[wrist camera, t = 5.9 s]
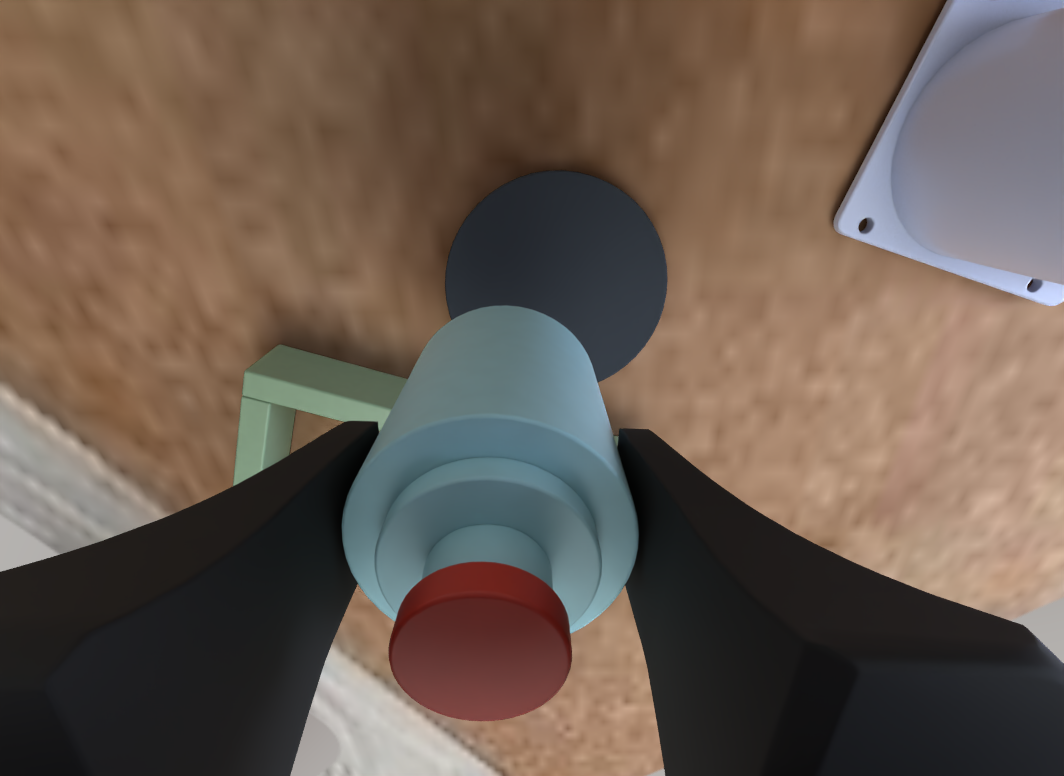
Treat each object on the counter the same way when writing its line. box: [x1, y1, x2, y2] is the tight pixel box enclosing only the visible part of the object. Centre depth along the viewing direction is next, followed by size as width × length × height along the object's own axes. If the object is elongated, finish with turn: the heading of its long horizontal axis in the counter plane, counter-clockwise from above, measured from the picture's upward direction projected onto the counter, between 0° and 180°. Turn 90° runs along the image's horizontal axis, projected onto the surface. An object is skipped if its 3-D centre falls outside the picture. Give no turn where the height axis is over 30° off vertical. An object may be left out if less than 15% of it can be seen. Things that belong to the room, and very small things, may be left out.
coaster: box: [445, 170, 667, 382], centre depth 19 cm, size 8×8×1 cm
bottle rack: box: [233, 345, 618, 486], centre depth 22 cm, size 8×15×3 cm, turn 73°
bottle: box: [342, 305, 639, 721], centre depth 11 cm, size 5×5×8 cm
